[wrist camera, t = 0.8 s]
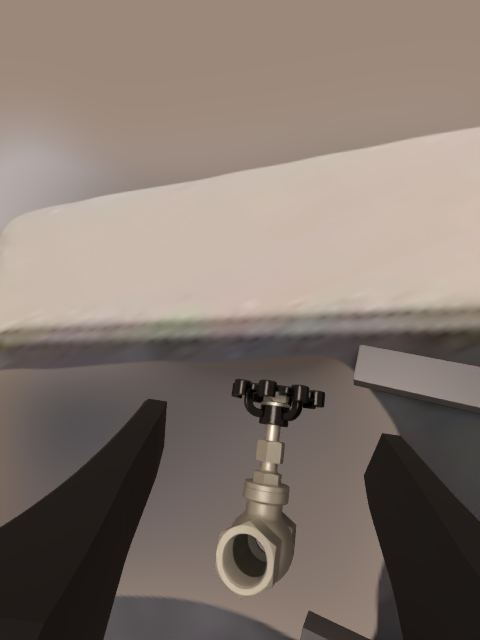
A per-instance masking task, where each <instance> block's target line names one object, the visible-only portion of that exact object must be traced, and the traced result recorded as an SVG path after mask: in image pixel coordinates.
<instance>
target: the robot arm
mask: <svg viewBox="0 0 480 640" xmlns="http://www.w3.org/2000/svg"><path fill="white" fill-rule="evenodd" d="M166 408H167V402H166V401H160V400H153V399H148V400H146V401H145V402H144V403H143V404H142V406H141V407H140V408H139V409H138V411H137V412H136V413H135V414H134V415H133V417H132V418H131V419H130V420H129V421H128V422H127V423H126V424H125V425H124V427H123V428H122V429H121V430H120V431H119V432H118V433H117V434H116V435H115V436H114V437H113V438H112V439H111V440H110V441H109V442H108V443H107V444H106V445H105V446H104V447H103V448H102V449H101V450H100V451H99V452H98V453H97V454H96V455H95V456H94V457H92V458H91V459H90V460H89V461H88V462H87V463H86V464H85V465H84V466H83V467H81V468H80V469H79V470H78V471H77V472H76V473H74V475H72V476H71V477H70V478H68V479H67V480H66V481H65V482H64V483H62V484H61V485H60V486H59V487H57V488H56V489H55V490H53V491H52V492H51V493H49V494H48V495H47V496H45V497H44V498H43V499H42V500H40V501H39V502H37V503H36V504H34V505H33V506H32V507H30V508H29V509H28V510H26V511H25V512H23V513H22V514H20V515H19V516H17V517H16V518H14V519H12V520H11V521H9V522H8V523H6V524H5V525H3V526H2V527H0V640H103V639H104V635H105V631H106V628H107V624H108V620H109V617H110V613H111V609H112V606H113V602H114V598H115V595H116V591H117V588H118V584H119V581H120V577H121V574H122V570H123V566H124V563H125V560H126V557H127V553H128V551H129V548H130V545H131V542H132V539H133V537H134V534H135V532H136V529H137V526H138V524H139V521H140V518H141V516H142V513H143V510H144V508H145V505H146V502H147V500H148V497H149V494H150V492H151V489H152V486H153V484H154V481H155V478H156V475H157V472H158V468H159V464H160V460H161V456H162V452H163V448H164V439H165V422H166ZM364 479H365V486H366V493H367V498H368V504H369V509H370V512H371V516H372V519H373V523H374V526H375V529H376V533H377V536H378V540H379V543H380V547H381V550H382V553H383V557H384V560H385V563H386V567H387V570H388V573H389V577H390V580H391V584H392V588H393V592H394V596H395V600H396V605H397V610H398V615H399V620H400V625H401V630H402V634H403V640H480V522H479V521H478V520H477V518H476V517H475V516H474V515H473V514H472V513H471V512H470V511H469V510H468V509H467V508H466V507H465V506H464V505H463V504H462V503H461V502H460V501H459V500H458V499H457V498H456V497H455V496H454V495H453V494H452V493H451V492H450V491H449V489H448V488H447V487H446V486H445V485H444V484H443V483H442V482H441V481H440V480H439V478H438V477H437V476H436V475H435V474H434V473H433V472H432V471H431V469H430V468H429V467H428V466H427V465H426V464H425V463H424V462H423V460H422V459H421V458H420V457H419V456H418V455H417V454H416V452H415V451H414V450H413V449H412V448H411V447H410V446H409V445H408V444H407V442H406V441H405V440H404V439H403V438H402V437H401V436H397V435H391V434H384V433H382V435H381V437H380V440H379V442H378V445H377V447H376V449H375V451H374V453H373V456H372V458H371V460H370V463H369V465H368V467H367V470H366V472H365V474H364Z"/></svg>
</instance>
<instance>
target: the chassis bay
mask: <svg viewBox="0 0 480 640" xmlns="http://www.w3.org/2000/svg"><path fill="white" fill-rule="evenodd" d="M353 381H354V385H356V386H361V387H365V388H369V389H374V390H378V391H382V392H387V393H391V394H395V395H400V396H404V397H409V398H413V399H417V400H422V401H426V402H430V403H435V404H439V405H443V406H448V407H452V408H457V409H461V410H465V411H470V412H474V413H478V414H480V367H476V366H471V365H466V364H461V363H455V362H450V361H445V360H439V359H434V358H429V357H423V356H418V355H413V354H407V353H402V352H397V351H392V350H386V349H381V348H376V347H370V346H365V345H360V348H359V353H358V358H357V363H356V368H355V373H354V378H353ZM300 640H370V639H368V638H365V637H364V636H361V635H359V634H357V633H355V632H353V631H351V630H349V629H346V628H344V627H343V626H340V625H338V624H336V623H334V622H332V621H330V620H328V619H326V618H323V617H321V616H319V615H317V614H315V613H313V612H311V611H309V612H308V614H307V617H306V620H305V623H304V626H303V629H302V634H301V639H300Z"/></svg>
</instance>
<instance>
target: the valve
mask: <svg viewBox="0 0 480 640" xmlns="http://www.w3.org/2000/svg"><path fill="white" fill-rule="evenodd" d="M242 395H245V398H244V404H245V407H246V409H247V411H248V412H249V413H250V414H252V415H253V416H256V417H260V419H259V423H261V424H266V430H265V438H264V440H262V439H259V440H258V443H257V452H256V460H259V461H261V463H260V469H259V470H255V471H254V478H253V479H245V481H244V488H243V496H244V497H245V498H247V505H246V510H245V512H243V513H242V514H241V515H240V516H239V517H237V518H236V520H235V521H234V522H233V524H232V526H231V527H229V528H227V529H226V530H224V531H222V532H220V536H219V541H218V547H217V553H216V562H215V571H216V573H217V574H218V575H219V577H220V578H221V579H222V580H223V582H224V583H225V584H226V585H227V586H228V587H229V589H230V590H231V591H232V592H233V593H234V594H235V595H236V596H238V597H239V598H240V599H242V598H245V597H248V596H251V595H254V594H257V593H259V592H262V591H264V590H267V589H269V588H271V587H273V585H274V584H275V583H276V582H277V581H278V580H280V579H281V578H282V577H283V576H284V575H285V573H286V572H287V571H288V569H289V567H290V565H291V562H292V559H293V555H294V546H295V534H296V525H295V523H294V522H293V521H292V520H291V519H289V518H288V517H287V516H286V515H285V514H284V513H283V512H282V506H283V505H285V504H287V503H288V498H289V486H287V485H285V484H282V483H281V476H282V475H281V474H279V473H278V472H277V467H278V464H282V463H283V457H284V446H285V444H284V443H282V442H279V436H280V427H288V421H292V420H295V419H296V418H297V417H298V416H299V415H300V413H301V411H302V407H303V408H309V409H315V408H316V407H321V408H322V407H324V401H325V393H324V392H321V391H315V390H310V391H309V387H307V386H303V385H292V386H291V387H288V386H281V385H277V383H276V382H275V381H271V380H260V381H259V383H251V381H248V380H244V379H236V380H235V383H233V388H232V397H236V398H242ZM263 400H264V401H263ZM253 402H258V403H261V409H258V408H256V407H255V406H254V405H253ZM291 403H292V408H291V410H290V407H291ZM289 410H290V411H289ZM256 539H258V541H259V542H260V543H261V545H262V546H263V548H264V550H265V552H264V551H263V550H262V549H261V548H260V547H259V545H258V544H257V541H256Z"/></svg>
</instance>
